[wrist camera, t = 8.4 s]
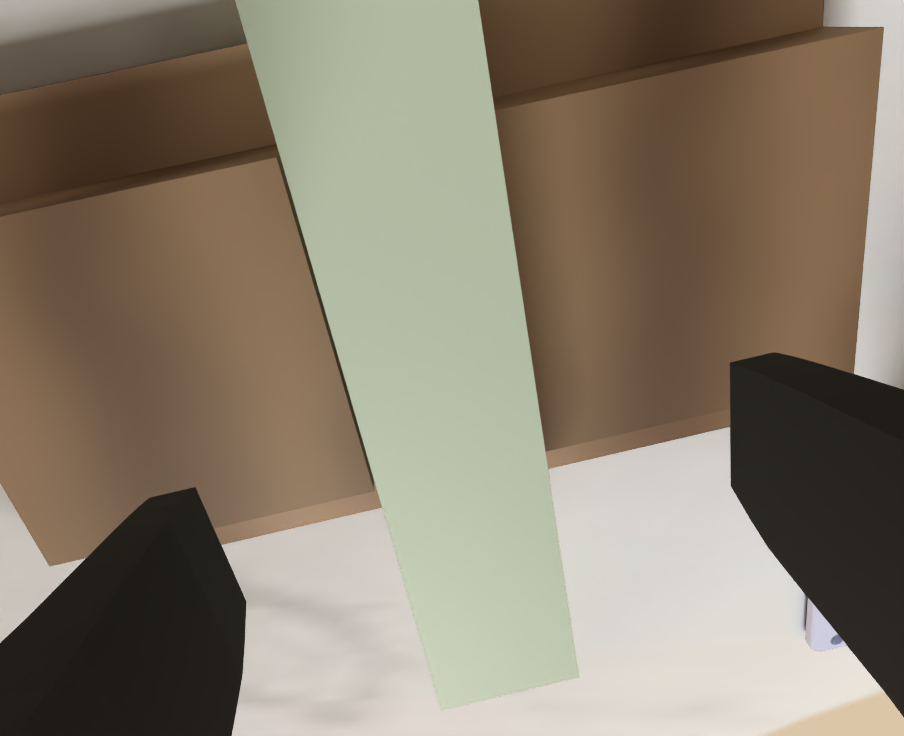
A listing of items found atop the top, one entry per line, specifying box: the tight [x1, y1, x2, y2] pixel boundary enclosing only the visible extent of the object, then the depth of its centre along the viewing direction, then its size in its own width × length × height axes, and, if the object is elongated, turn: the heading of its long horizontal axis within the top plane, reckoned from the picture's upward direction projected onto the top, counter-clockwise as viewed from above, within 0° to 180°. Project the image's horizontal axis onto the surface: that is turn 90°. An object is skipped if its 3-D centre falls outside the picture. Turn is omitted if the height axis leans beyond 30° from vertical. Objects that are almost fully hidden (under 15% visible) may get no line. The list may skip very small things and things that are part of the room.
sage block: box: [235, 0, 579, 711], centre depth 14 cm, size 14×3×6 cm, turn 11°
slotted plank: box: [0, 0, 884, 566], centre depth 17 cm, size 20×12×3 cm, turn 101°
